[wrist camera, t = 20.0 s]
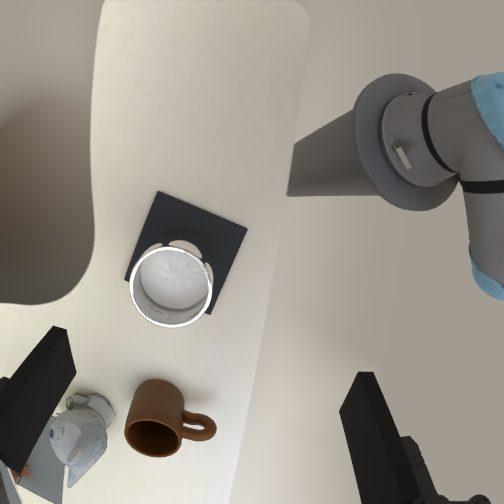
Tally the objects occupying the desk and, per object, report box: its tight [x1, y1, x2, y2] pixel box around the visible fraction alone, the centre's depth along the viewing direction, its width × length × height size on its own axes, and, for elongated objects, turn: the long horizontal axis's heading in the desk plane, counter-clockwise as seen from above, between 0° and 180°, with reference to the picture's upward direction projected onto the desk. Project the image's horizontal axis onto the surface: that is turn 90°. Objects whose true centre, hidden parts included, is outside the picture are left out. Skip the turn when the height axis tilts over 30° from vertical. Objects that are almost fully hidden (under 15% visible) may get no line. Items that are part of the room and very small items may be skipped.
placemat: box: [124, 191, 247, 315], centre depth 38 cm, size 12×12×1 cm
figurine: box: [49, 394, 115, 488], centre depth 33 cm, size 10×9×15 cm
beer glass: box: [129, 231, 214, 328], centre depth 31 cm, size 7×7×15 cm
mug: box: [124, 380, 217, 457], centre depth 37 cm, size 12×8×9 cm, turn 89°
